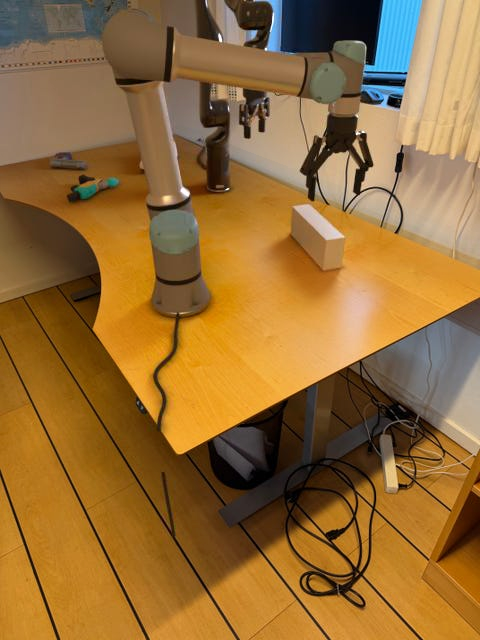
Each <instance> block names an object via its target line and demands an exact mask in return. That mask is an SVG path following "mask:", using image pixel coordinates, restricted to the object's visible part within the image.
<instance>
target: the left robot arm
mask: <svg viewBox="0 0 480 640" xmlns="http://www.w3.org/2000/svg"><path fill="white" fill-rule="evenodd" d="M101 47H102V52H103V54H104V58H105V59H106V61H107V63H108V64H109V66H110V67H111V70H112V73H113V76H114V81H115V85H116V86H117V87H118V88H119V89H120V90H122V91H123V92H124V93H125V97H126V102H127V106H128V110H129V113H130V117H131V122H132V126H133V130H134V135H135V138H136V143H137V147H138V151H139V155H140V159H141V160H142V164H143V168H144V170H143V172H144V176H145V180H146V183H147V189H148V193H147V195H146V197H145V204H146V205H145V206H146V208H147V209H146V210H147V214H148V216H149V221H150V222H149V226H148V227H149V230H148V237H149V241H150V245H151V253H152V260H153V268H154V274H155V275H154V276H155V281H154V284H153V290H152V294H151V305H152V308H153V310H154V311H155V312H156V313H157V314H159V315H160V316H163V317H167V318H171V319H175V322H174V328H173V347H172V350H171V352H170V353H169V355H167V357H166V358H164V359H163V360H162V361H161V362H160V363H159V364H158V365H157V366H156V367H155V369H154V372H153V376H152V379H153V382H154V384H155V386H156V388H157V389H158V391H159V393H160V395H161V398H162V400H161V401H162V402H161V407H160V409H159V412H158V415H157V420H156V432H157V433H160V432H161V430H162V419H163V415H164V413H165V410H166V406H167V396H166V393H165V391H164V389H163V387H162V386H161V384H160V382H159V381H158V373H159V371H160V370H161V368H162V367H163V366H164V365H165V364H166V363H168V362H169V361H170V360H171V358H173V357H174V355H175V353H176V351H177V347H178V330H179V329H178V328H179V320H180V319H183V318H185V319H186V318H190V317H194V316H196V315H199V314H201V313H202V312H204V311H205V310H207V308H208V307H209V306H210V303H211V294H210V293H211V292H210V290H209V288H208V286H207V284H206V281H205V278H204V277H203V275H202V262H201V261H202V259H201V247H200V227H199V224H198V221H197V219H196V213H195V210H194V208H193V202H192V198H191V197H192V196H191V192H190V190H189V189H188V188H186V187H185V186H183V182H182V177H181V172H180V167H179V161H178V156H176V151H175V146H174V141H173V136H174V135H173V131H172V126H171V121H170V117H169V112H168V106H167V102H166V95H165V91H164V83H170V84H172V83H173V82H174V81H176V80H177V79H182V80H187V81H195V82H199V81H200V82H206V83H213V85H219V86H220V85H221V86H225V87H233V88H239V89H243V88H245V89H251V90H258V91H264V92H267V93H271V94H277V95H285V96H292V97H296V98H301V99H308V100H312V101H314V102H315V103H317V104H322V105H328V106H327V111H328V114H327V115H326V126H325V127H326V128H325V130H326V133H325V135H324V136H319V135H317V134H315V135H314V136H313V140H312V144H311V147H310V149H309V151H308V153H307V155H306V157H305V158H304V161H303V163H302V164H301V167H300V169H299V173H301V174H302V175H303V176H304V177H305V176H306V177H305V188H307V189H308V190H307V199H308V200H309V201H310V202H315V200H316V189H317V176H316V174H317V172H318V171H319V170H320V169H321V167H322V166H323V165H324V164H325V162H326V161H327V160H328V158H329V157H331V156H332V155H333V154H340V153H341V154H346V153H347V152H348V154H349V155H350V157H351V158H352V160H353V161H354V162H355V164H356V165H357V167H358V168H355V173H354V179H353V180H354V181H353V188H352V193H353V194H355V195H356V196H361V191H362V183H363V182H365V180H366V173H367V172H368V171H369V170H370V168H373V167H374V166H375V164H374V161H373V157H372V154H371V151H370V147H369V144H368V133H367V132H365V131H363V130H359V131H358V132H356V131H357V129H358V121H359V116H358V113H360V108H361V107H360V106H361V97H362V88H363V81H364V73H365V67H366V59H367V45H366V44H365V43H364V42H363V41H361V40H337V41H335V42H334V44H333V48H332V51H326V52H294V53H283V52H278V51H273V50H269V49H267V50H262V49H257V48H251V47H246V46H244V45H241V44H234V43H230V42H225V41H224V42H218V41H213V40H207V39H202V38H197V36H196V37H195V36H190V35H184V34H181V33H180V32H179V31H178V29H177V27H174V26H169V25H164V24H161V23H158V22H156V21H155V19H154V18H153V17H152V16H151V15H150V14H149V13H147V12H146V11H144V10H141V9H139V8H136V7H130V8H129V7H125V8H122V9H119V10H117V11H116V12H115V13H113V14H112V16H110V17H109V19H108V21H107V22H106V24H105V26H104V28H103V31H102V36H101ZM172 135H173V136H172ZM355 141H357V143H358V145H359V146H358V147H359V149H360V152H361V155H362V157H361V156H360V154H359V153H358V151H357V149H356V148H355V146H354V145H353V144H354V143H355ZM324 143H325V145H324ZM322 146H323V147H322ZM321 148H322V149H321ZM320 150H321V151H320ZM319 152H320V153H319ZM362 158H363V159H362ZM160 474H161V481H162V488H163V493H164V499H165V504H166V510H167V515H168V519H169V526H170V531H171V537H172V538H175V537H176V536H177V535H176V529H175V523H174V518H173V512H172V507H171V501H170V496H169V491H168V484H167V478H166V477H167V476H166V471H161V472H160Z"/></svg>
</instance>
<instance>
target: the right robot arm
mask: <svg viewBox="0 0 480 640" xmlns="http://www.w3.org/2000/svg"><path fill="white" fill-rule="evenodd" d="M223 1H224V4H225V5H226V7H227V8H228V9H229V10H230V11H231V12H232V13H233V15H234V17H235V20H236V23H237V26H238V28H240V29H241V30H243V31H245V32H253V31H256V33H255V36H254V37H253V38H251V39H249V40H246V41H245V42H244V43H243V46H246V47H251V48H257V49H262V50H268V45H269V42H270V37H271V32H272V29H273V25H274V19H275V12H274V8H273V6H272V4H271V2H269V1H268V0H223ZM193 3H194V13H195V32H196V38H202V39H207V40H213V41H218V42H224V43H225V39H224V34H223V32H222V30H221V28H220V26H219V24H218V22H217V21H216V19H215V18H214V16H213V13H212V11H211V9H210V6H209V1H208V0H193ZM213 86H214V84H213V83H206V82H200V81H198V88H199V89H198V103H199V104H198V115H199V122H200V124H201V126H202V128H204V129H213V128H216V129H215V130H214V131H213V132H212V133H211V134H209V135H207V136H206V137H205V138H204V139H205V141H204V145H205V146H204V148H203V149H202V151H201V152H200V153H199V155H198V160H199V163H200V164H201V165H202V167H204V168H205V172H206V174H205V175H206V187H207V188H206V189H207V191H208V192H211V193H216V194H221V193H222V194H223V193H226V192H229V191H230V190H231V157H230V156H231V155H230V154H231V153H230V138H231V106H230V104H229V102H228V100H227V99H225V98H221V99H220V98H218V99H211V96H212V89H213ZM242 97H243V98H244V99H245V103H240V104H238V105H239V106H238V125H239V126H242V127H243V139H245V140H250V139H251V138H252V127H251V125H252V122H253V121H254V120H255V118H256V117H257V118H258V122H257V123H258V124H257V125H258V126H257V131H258V132H259V133H262V134H263V133H265V132H266V121H267V119H268V118H270V109H271V108H270V107H271V106H270V104H271V103H270V101H271V100H270V97H269V96H268V92H264V91H258V90H251V89H245V88H242ZM198 141H201V139H200V138H199V139H198ZM204 152H205V164H204V163H203V161H202V160H201V159H202V158H201V157H202V155H203V154H204Z"/></svg>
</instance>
